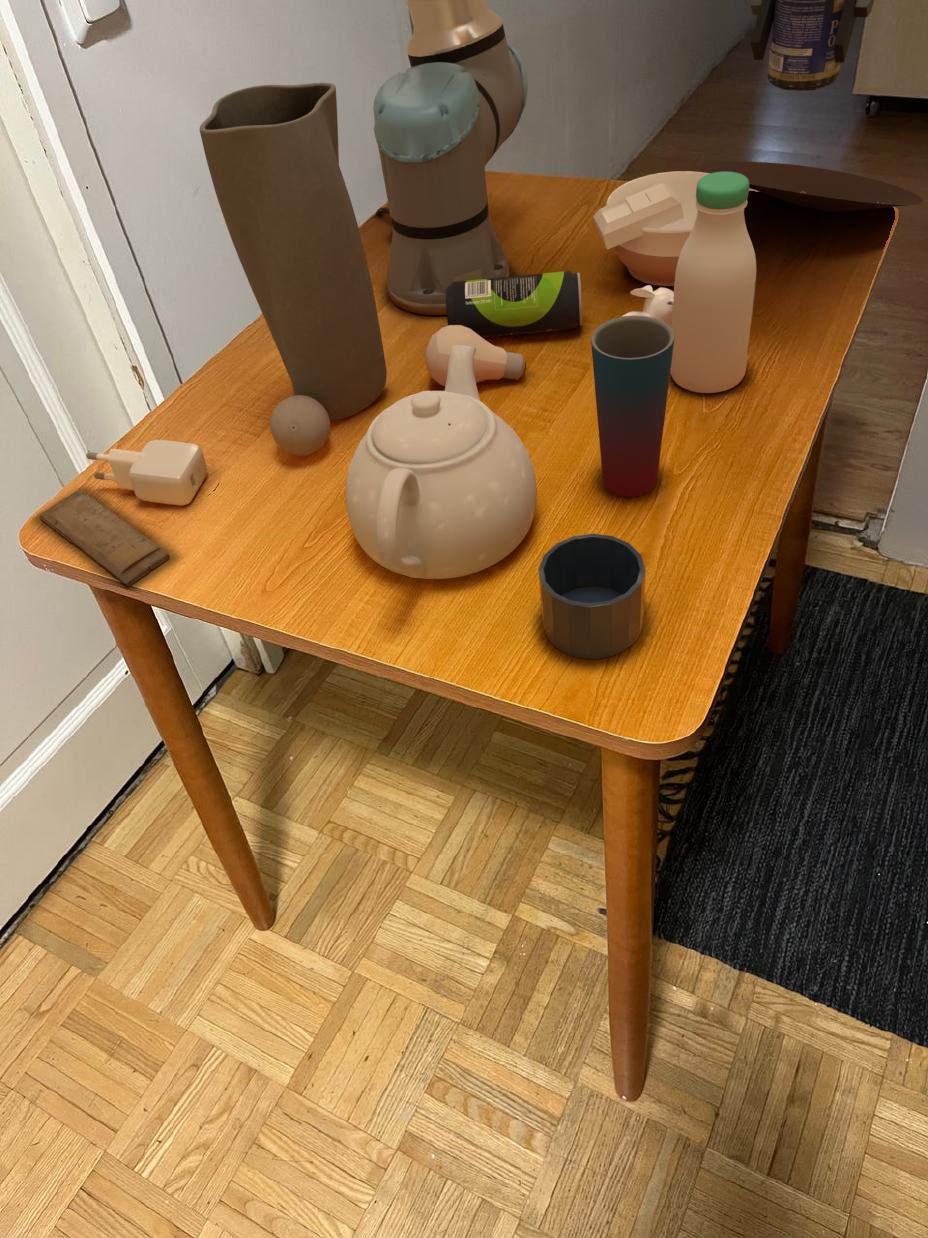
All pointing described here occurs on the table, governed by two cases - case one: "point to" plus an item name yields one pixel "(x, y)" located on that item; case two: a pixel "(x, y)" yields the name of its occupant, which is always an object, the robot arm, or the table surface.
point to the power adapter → (157, 471)
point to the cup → (631, 399)
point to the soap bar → (637, 214)
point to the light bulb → (486, 360)
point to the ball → (300, 425)
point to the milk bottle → (714, 289)
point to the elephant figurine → (655, 303)
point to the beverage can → (516, 304)
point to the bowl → (659, 229)
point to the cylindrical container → (592, 595)
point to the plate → (816, 186)
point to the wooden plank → (104, 537)
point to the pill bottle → (804, 44)
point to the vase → (299, 238)
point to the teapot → (441, 482)
